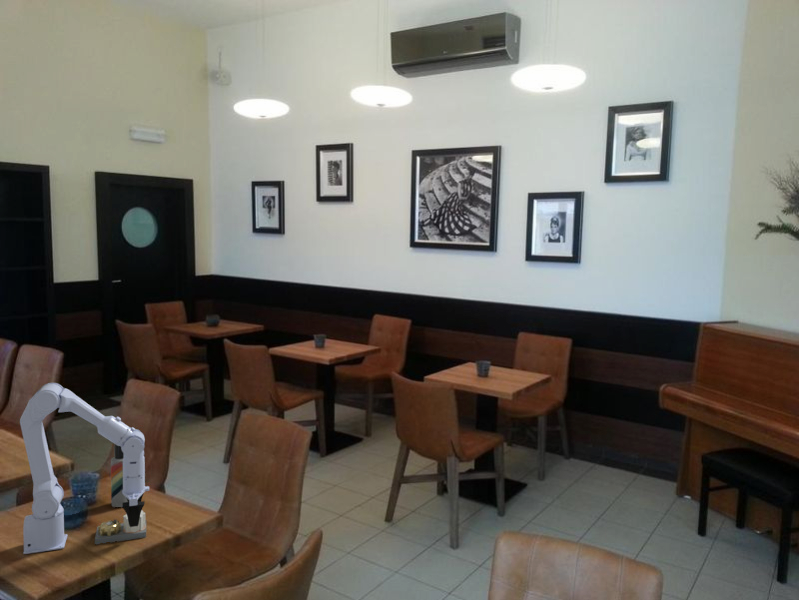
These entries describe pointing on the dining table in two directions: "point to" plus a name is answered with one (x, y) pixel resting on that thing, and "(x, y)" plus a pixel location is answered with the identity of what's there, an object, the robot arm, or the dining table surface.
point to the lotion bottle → (117, 478)
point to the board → (120, 535)
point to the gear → (109, 528)
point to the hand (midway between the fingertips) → (134, 520)
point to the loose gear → (135, 528)
